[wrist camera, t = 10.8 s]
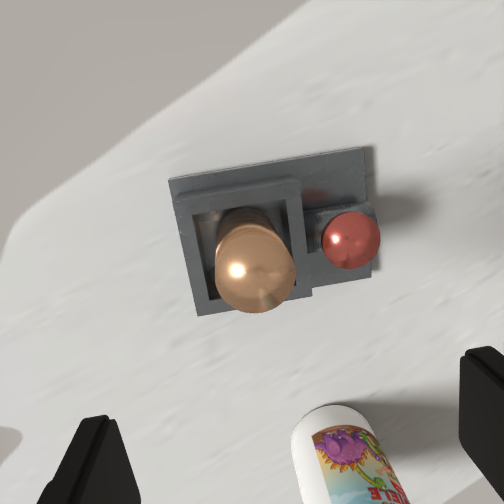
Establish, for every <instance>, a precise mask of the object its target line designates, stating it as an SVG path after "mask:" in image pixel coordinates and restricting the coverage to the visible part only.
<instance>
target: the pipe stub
mask: <svg viewBox="0 0 504 504" xmlns="http://www.w3.org/2000/svg"><path fill="white" fill-rule="evenodd" d="M295 278H296V269H295V264H294V262H293V259H292V257H291V255H290V254H289V252H288V250H287V248H286V247H285V245H284V243H283V241H282V240H281V238H280V236H279V235H278V233H277V231H276V229H275V228H274V226H273V224H272V222H271V221H270V220H269V218H268V217H267V216H266V215H264V214H263V213H262V212H260V211H258V210H255V209H250V208H243V209H238V210H235V211H233V212H231V213H229V214H228V215H226V216H225V217H224V218H223V220H222V221H221V222H220V224H219V226H218V229H217V233H216V256H215V283H216V287H217V290H218V292H219V294H220V296H221V297H222V298H223V300H224V301H225V302H226V303H227V304H229V305H230V306H231V307H233V308H235V309H237V310H239V311H242V312H246V313H262V312H266V311H269V310H271V309H273V308H275V307H277V306H279V305H280V304H281V303H282V302H284V301H285V299H286V298H287V297H288V296H289V294H290V293H291V291H292V289H293V286H294V283H295Z"/></svg>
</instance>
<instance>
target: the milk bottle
mask: <svg viewBox="0 0 504 504" xmlns="http://www.w3.org/2000/svg"><path fill="white" fill-rule="evenodd" d="M291 451H292V456H293V461H294V465H295V470H296V474H297V479H298V483H299V487H300V492H301V496H302V500H303V504H410V502H409V500H408V499H407V497H406V495H405V493H404V491H403V489H402V487H401V485H400V483H399V481H398V479H397V477H396V475H395V473H394V471H393V469H392V467H391V465H390V463H389V461H388V459H387V457H386V455H385V453H384V452H383V450H382V448H381V446H380V444H379V442H378V440H377V438H376V436H375V434H374V432H373V430H372V429H371V427H370V425H369V423H368V422H367V420H366V419H365V418H364V417H363V416H362V415H361V414H360V413H359V412H357V411H355V410H354V409H352V408H349V407H346V406H341V405H329V406H323V407H320V408H318V409H315V410H313V411H311V412H309V413H308V414H307V415H306V416H304V417H303V418H302V419H301V420H300V421H299V422H298V424H297V426H296V427H295V429H294V432H293V435H292V438H291Z"/></svg>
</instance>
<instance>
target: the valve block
mask: <svg viewBox="0 0 504 504" xmlns="http://www.w3.org/2000/svg"><path fill="white" fill-rule="evenodd" d="M168 183H169V187H170V192H171V196H172V203H173V207H174V212H175V216H176V221H177V225H178V230H179V234H180V239H181V243H182V248H183V252H184V257H185V261H186V266H187V270H188V275H189V279H190V284H191V288H192V293H193V298H194V302H195V307H196V311H197V316H203V315H209V314H215V313H220V312H226V311H232V310H237V309H235V308H233V307H231V306H230V305H229V304H227V303H226V302H225V301H224V300H223V298H222V297H221V296H220V294H219V292H218V290H217V287H216V283H215V256H216V233H217V229H218V226H219V224H220V222H221V221H222V220H223V218H224V217H225V216H226V215H228V214H229V213H231V212H233V211H235V210H238V209H243V208H250V209H255V210H258V211H260V212H262V213H263V214H264V215H266V216H267V217H268V218H269V220H270V221H271V222H272V224H273V226H274V228H275V229H276V231H277V233H278V235H279V236H280V238H281V240H282V241H283V243H284V245H285V247H286V248H287V250H288V252H289V254H290V255H291V257H292V259H293V262H294V264H295V269H296V278H295V283H294V286H293V289H292V291H291V293H290V294H289V296H288V297H287V298H286V299H285V301H288V300H294V299H299V298H305V297H311V296H312V288H314V287H320V286H325V285H331V284H337V283H342V282H348V281H354V280H359V279H365V278H371V259H372V258H373V257H374V256H375V254H376V253H377V251H378V248H379V245H380V232H379V229H378V226H377V220H376V215H375V212H374V209H373V207H372V205H371V204H370V202H368V201H367V193H366V176H365V159H364V148H360V147H356V148H350V149H344V150H338V151H332V152H326V153H320V154H314V155H308V156H302V157H296V158H290V159H284V160H278V161H272V162H265V163H259V164H253V165H247V166H241V167H235V168H229V169H223V170H217V171H211V172H205V173H199V174H193V175H187V176H181V177H175V178H170V179H169V180H168Z"/></svg>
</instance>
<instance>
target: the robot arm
mask: <svg viewBox="0 0 504 504" xmlns="http://www.w3.org/2000/svg"><path fill="white" fill-rule="evenodd" d="M459 439H460V442H461V445H462V447H463V448H464V450H465V451H466V453H467V454H468V455H469V457H470V458H471V459H472V461H473V462H474V463H475V464H476V466H477V467H478V468H479V470H480V471H481V472H482V474H483V475H484V476H485V478H486V479H487V480H488V481H489V483H490V484H491V485H492V486H493V488H494V489H495V491H496V492H497V493H498V495H499V496H500V497H501V498H502V500H503V501H504V356H503V355H502V354H501V353H500V352H498V351H497V350H496V349H495V348H493V347H491V346H485V347H479V348H474V349H468V350H467V351H466V352H465V356H462V357H461V359H460V389H459ZM37 504H141V497H140V493H139V489H138V486H137V483H136V480H135V477H134V474H133V471H132V468H131V465H130V462H129V459H128V456H127V453H126V450H125V447H124V443H123V440H122V437H121V434H120V431H119V428H118V425H117V422H116V421H115V419H111V420H110V419H109V417H108V416H107V415H101V416H95V417H90V418H85V419H83V420H82V421H81V423H80V425H79V427H78V429H77V431H76V433H75V435H74V437H73V439H72V441H71V443H70V445H69V447H68V449H67V451H66V453H65V455H64V457H63V459H62V461H61V463H60V466H59V468H58V470H57V472H56V474H55V476H54V478H53V480H51V481H50V482H49V483H48V484H47V485H46V487H45V488H44V490H43V492H42V494H41V496H40V498H39V500H38V502H37Z"/></svg>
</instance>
